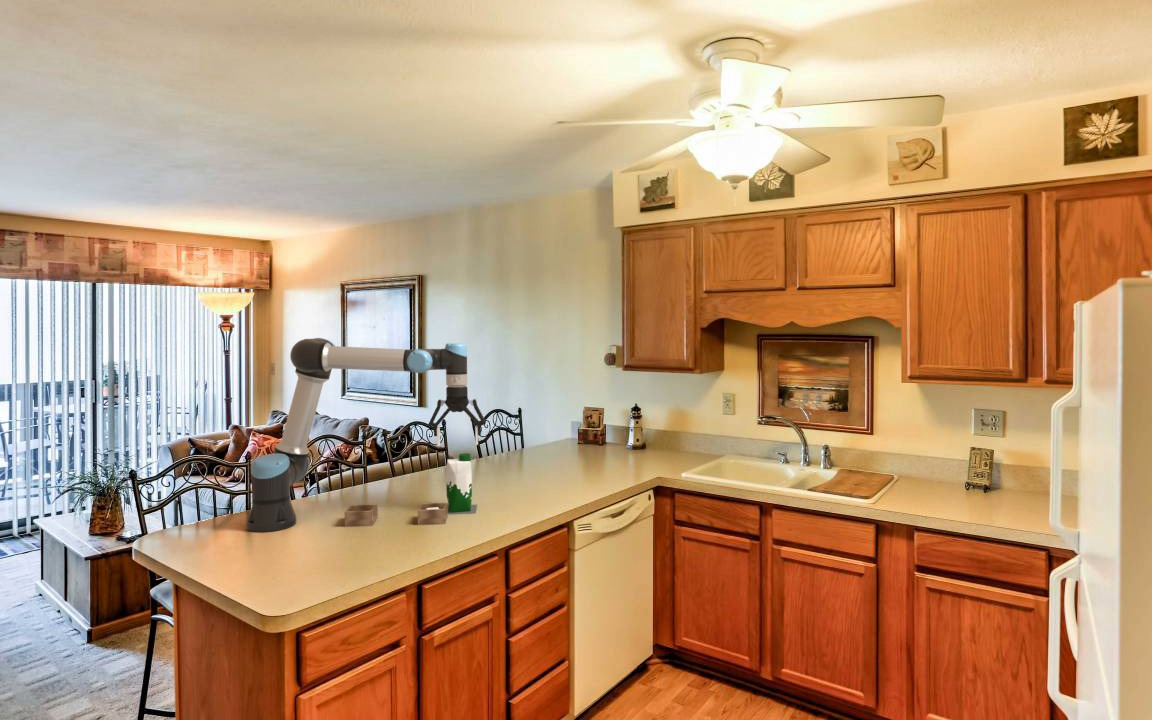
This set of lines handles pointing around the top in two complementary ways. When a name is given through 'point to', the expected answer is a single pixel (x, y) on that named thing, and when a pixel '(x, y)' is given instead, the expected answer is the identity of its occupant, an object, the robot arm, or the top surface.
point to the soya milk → (459, 483)
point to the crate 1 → (361, 515)
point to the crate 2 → (432, 514)
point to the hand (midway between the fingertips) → (457, 444)
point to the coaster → (473, 511)
